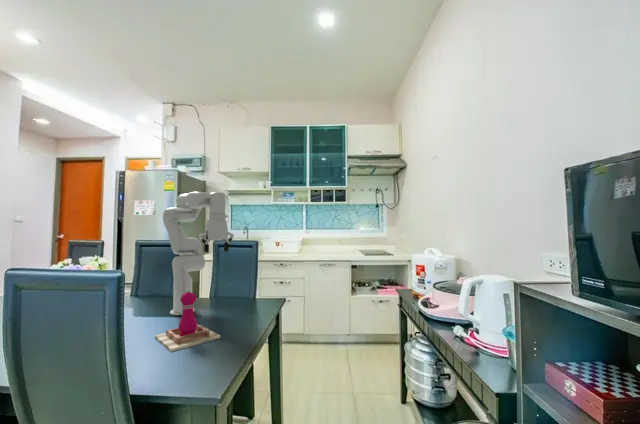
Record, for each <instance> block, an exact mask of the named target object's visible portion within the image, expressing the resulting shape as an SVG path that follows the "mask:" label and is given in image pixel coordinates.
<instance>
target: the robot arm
mask: <svg viewBox="0 0 640 424" xmlns="http://www.w3.org/2000/svg"><path fill="white" fill-rule="evenodd" d="M226 199H227V197H226V193H224V192H222V191H221V192H220V191H212V192H205V191H204V192H203V191H191V192H188V193H181V194H179V195H178V196H177V197H176V199H175V202H176V205H177V206H178V207H176V206H175V207H169V208H166V209H165V210H164V211H163V213H162V222H163V225H164V227H165V230H166V231H167V233H168V238H169V242H170V248H171V250H172V253H173V254H175V255H178V256H175V257H174V258H173V259H172V261H171V266H172V273H173V275H172V276H173V300H172V301H173V303H172V304H173V306H172V309H171V310H170V311H169V314H170V315H172V316H182V314H183V309H182V303H181V300H180V299H181V296H182V295H183V294H184V293H187V292H186V290H187V289H190V290H191V291H190V292H191V293H193V278H192V276H191V275H190V274H189V273H190V272H197V271H201V270H203V269H204V268H205V265H206V258H205V255H204V252H205V253H210V244H209V243H210V242H211V241H223V242H224V243H223V251H224V252H228V251H229V247H230V246H229V244H230V243H231V242H232V241H233V238H234V233H231V232H230V231H229V230H228V227H229V226H228V221H227V219H228V217H229V216H228V214H227V213H226ZM203 208H209V215H208V216H209V217H208V218H209V219H207V220H206V225H205V231H204V232H202V233H201V234H199V235H198V238H196V237H193V236H192V237H191V236H190V237H187V236H186V233H185V230H184V228H183V227H182V226H181V225H180V223H193V222H194V221H195V220H196V219H197V218H198V216H199V215H200V212H201V211H202V209H203ZM178 223H179V224H178ZM201 242H202V243H203V246H204V247H202V243H201ZM203 251H204V252H203ZM195 311H196V310H195V308H194V307H193V313H194V312H195Z"/></svg>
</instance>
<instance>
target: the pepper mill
mask: <svg viewBox="0 0 640 424" xmlns="http://www.w3.org/2000/svg"><path fill="white" fill-rule="evenodd" d="M190 291H191V290H190V289H187V290H186V292H187V293H184V294H183V295H182V296H181V299H180V300H181V303H182V309H183V314H182V315H181V318H180V321H179V323H178V327H177V328H178V329H179V330H180V331H181V332H180V336H184V335H189V334H193V333H196V331H195V329H196V327H197V324H198V323H197V319H196V318H195V314H194V312H193V308H194V307H195V302H196V297H197V296H196V295H195V293H193V292H192V293H191V292H190Z"/></svg>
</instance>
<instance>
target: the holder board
mask: <svg viewBox="0 0 640 424" xmlns="http://www.w3.org/2000/svg"><path fill="white" fill-rule="evenodd" d="M195 331H196V333H193V334H189V335H184V336H180V332H181V331H180V330H179V329H178V327H175V328H172V329H166V330H165V333H160V334H155V335H154V339H155V340H156V341H158V342H159V343H160V344H161V345H162V346H164V347H165V348H166V350H168V351H169V352H174V351H175V352H176V351H178V350H182V349H186V348H190V347H193V346H196V345H201V344H204V343H208V342H211V341H215V340H219V339H221V335H220V334H218V333H216V332H215V331H213V330H211V329H210V328H208V327H206V326H204V325H202V324H199V323H197V327H196V329H195Z"/></svg>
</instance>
